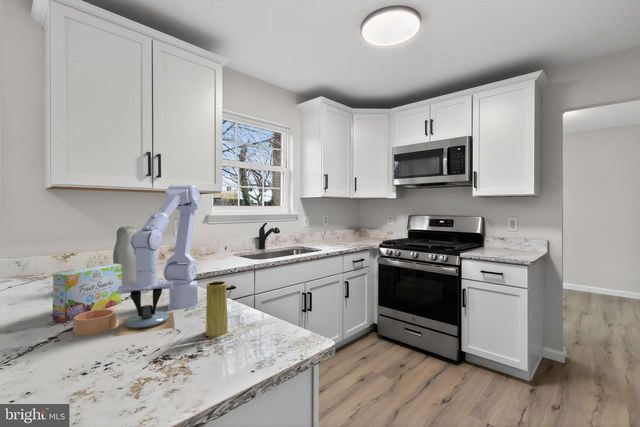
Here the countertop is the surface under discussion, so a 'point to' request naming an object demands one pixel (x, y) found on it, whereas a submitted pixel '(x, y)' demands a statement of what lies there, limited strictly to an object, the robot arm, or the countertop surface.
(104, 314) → the terracotta pot
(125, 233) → the grey bottle
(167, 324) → the oak board
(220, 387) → the countertop surface
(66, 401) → the countertop surface
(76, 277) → the snack box
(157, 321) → the lid
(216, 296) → the vase
